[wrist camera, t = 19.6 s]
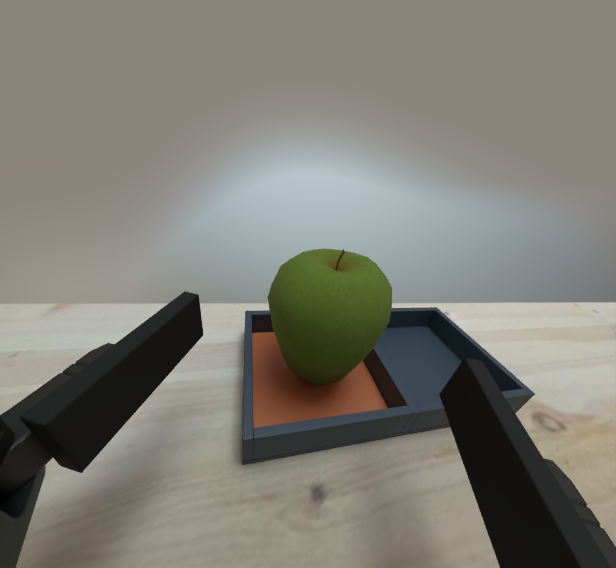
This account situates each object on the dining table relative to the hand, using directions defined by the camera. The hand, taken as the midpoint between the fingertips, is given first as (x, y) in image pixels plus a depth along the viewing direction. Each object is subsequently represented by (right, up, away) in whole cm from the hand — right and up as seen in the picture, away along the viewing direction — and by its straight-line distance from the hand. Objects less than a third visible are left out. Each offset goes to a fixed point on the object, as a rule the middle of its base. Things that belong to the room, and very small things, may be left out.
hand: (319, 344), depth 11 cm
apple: (0, -5, +9) cm, 10 cm away
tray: (+5, -5, +10) cm, 13 cm away
